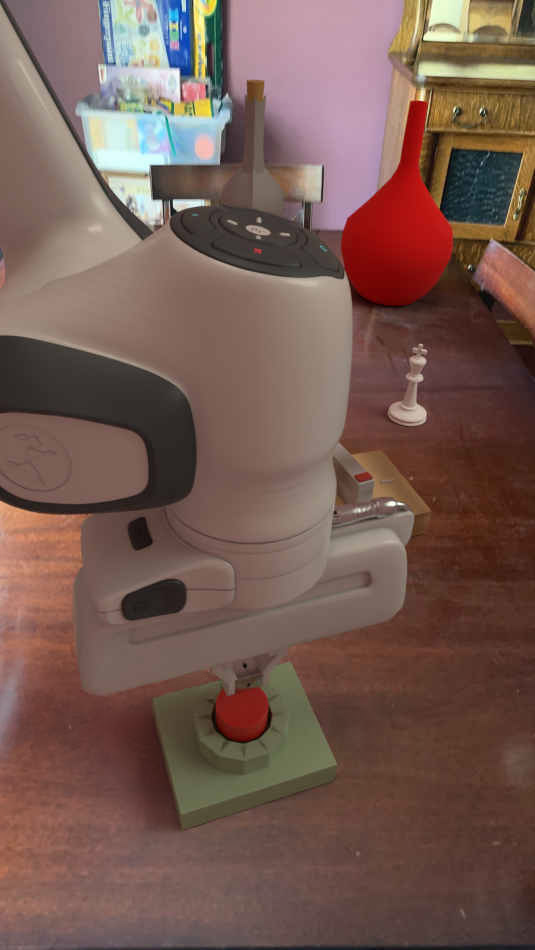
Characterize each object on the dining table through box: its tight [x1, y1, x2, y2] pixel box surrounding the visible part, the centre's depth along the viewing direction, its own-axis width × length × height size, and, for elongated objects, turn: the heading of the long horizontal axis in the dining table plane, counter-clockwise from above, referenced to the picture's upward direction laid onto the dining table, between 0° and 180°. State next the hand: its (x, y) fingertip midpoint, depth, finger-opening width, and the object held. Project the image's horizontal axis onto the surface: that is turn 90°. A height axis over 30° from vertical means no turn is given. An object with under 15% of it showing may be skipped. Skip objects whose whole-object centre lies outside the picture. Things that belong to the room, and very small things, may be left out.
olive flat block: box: [151, 661, 338, 831], centre depth 48 cm, size 11×9×4 cm
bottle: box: [218, 79, 286, 217], centre depth 117 cm, size 11×11×30 cm
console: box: [335, 449, 432, 538], centre depth 70 cm, size 14×11×3 cm
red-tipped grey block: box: [333, 441, 375, 504], centre depth 68 cm, size 7×2×4 cm, turn 25°
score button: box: [216, 687, 268, 742], centre depth 47 cm, size 4×4×2 cm
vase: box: [340, 99, 454, 307], centre depth 109 cm, size 18×18×30 cm
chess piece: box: [387, 343, 428, 427], centre depth 83 cm, size 5×5×10 cm
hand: (244, 682), depth 45 cm, fingers closed
